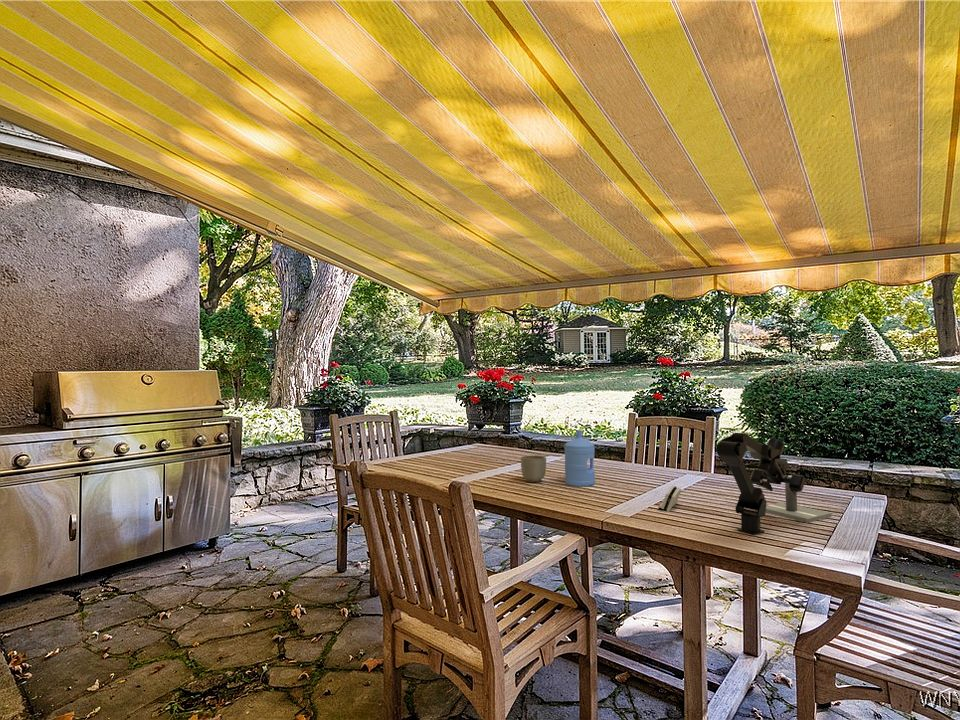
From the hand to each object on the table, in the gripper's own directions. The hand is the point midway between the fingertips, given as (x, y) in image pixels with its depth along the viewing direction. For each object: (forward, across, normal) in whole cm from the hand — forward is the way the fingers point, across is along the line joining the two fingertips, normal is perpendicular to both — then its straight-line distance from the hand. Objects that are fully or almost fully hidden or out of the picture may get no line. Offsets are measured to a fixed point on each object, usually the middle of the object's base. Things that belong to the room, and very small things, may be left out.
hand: (784, 492), depth 208 cm
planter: (-14, +114, +29) cm, 119 cm away
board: (+13, 0, +1) cm, 13 cm away
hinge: (-7, +38, +22) cm, 44 cm away
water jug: (-4, +94, +18) cm, 96 cm away
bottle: (+10, 0, +1) cm, 10 cm away
